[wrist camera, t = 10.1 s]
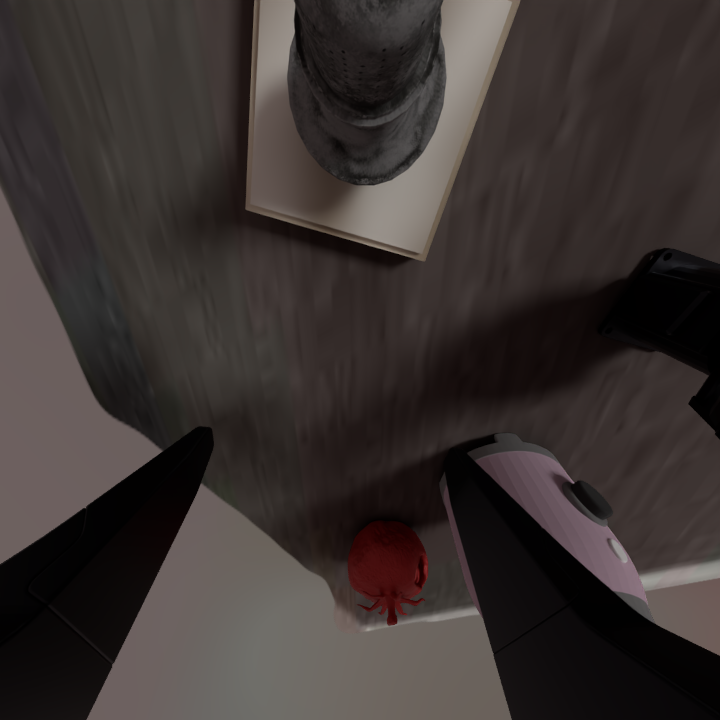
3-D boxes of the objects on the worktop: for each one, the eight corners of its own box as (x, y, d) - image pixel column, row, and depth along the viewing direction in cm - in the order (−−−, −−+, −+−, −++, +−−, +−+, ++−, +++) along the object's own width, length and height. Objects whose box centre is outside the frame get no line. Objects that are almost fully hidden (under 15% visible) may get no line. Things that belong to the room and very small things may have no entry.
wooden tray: (499, 26, 13) (526, -9, 11) (418, 256, 18) (425, 262, 16) (275, -65, 12) (255, -126, 10) (258, 209, 17) (242, 209, 15)
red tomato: (340, 542, 38) (331, 633, 30) (364, 504, 33) (361, 600, 25) (404, 557, 39) (412, 647, 31) (436, 522, 35) (456, 619, 26)
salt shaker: (411, 198, 15) (525, 178, 4) (303, 180, 14) (142, 113, 4) (442, 43, 12) (1049, -1232, 1) (307, 16, 11) (-273, -1932, 1)
